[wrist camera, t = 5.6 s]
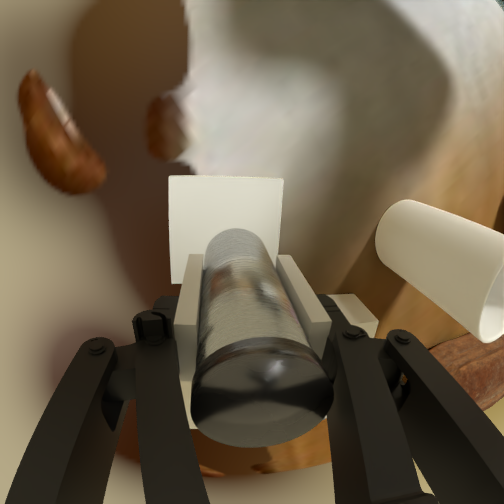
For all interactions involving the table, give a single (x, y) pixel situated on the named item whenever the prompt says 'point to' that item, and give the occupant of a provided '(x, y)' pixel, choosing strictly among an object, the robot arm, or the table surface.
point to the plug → (252, 351)
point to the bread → (475, 366)
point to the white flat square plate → (220, 213)
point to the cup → (447, 263)
